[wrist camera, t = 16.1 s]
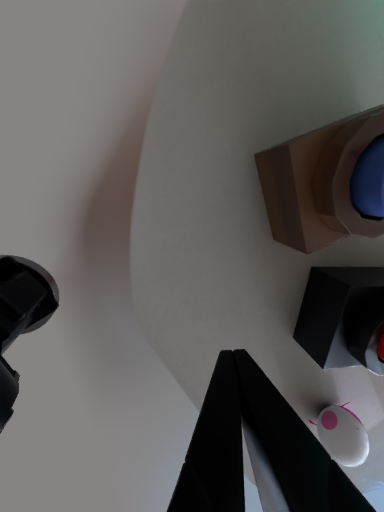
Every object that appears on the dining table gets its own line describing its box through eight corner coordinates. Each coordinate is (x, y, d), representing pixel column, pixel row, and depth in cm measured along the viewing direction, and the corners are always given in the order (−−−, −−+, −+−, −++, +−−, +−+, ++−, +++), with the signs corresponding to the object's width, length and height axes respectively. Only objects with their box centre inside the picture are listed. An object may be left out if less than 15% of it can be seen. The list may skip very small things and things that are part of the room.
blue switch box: (273, 240, 21) (325, 262, 15) (253, 154, 18) (308, 138, 12) (363, 201, 21) (449, 208, 15) (358, 112, 18) (461, 76, 12)
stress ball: (323, 400, 36) (375, 425, 31) (307, 451, 31) (366, 490, 26) (316, 372, 33) (374, 395, 28) (298, 423, 28) (362, 461, 23)
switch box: (292, 337, 25) (338, 386, 19) (311, 266, 22) (371, 296, 16) (367, 332, 27) (429, 374, 21) (393, 267, 25) (472, 293, 19)
